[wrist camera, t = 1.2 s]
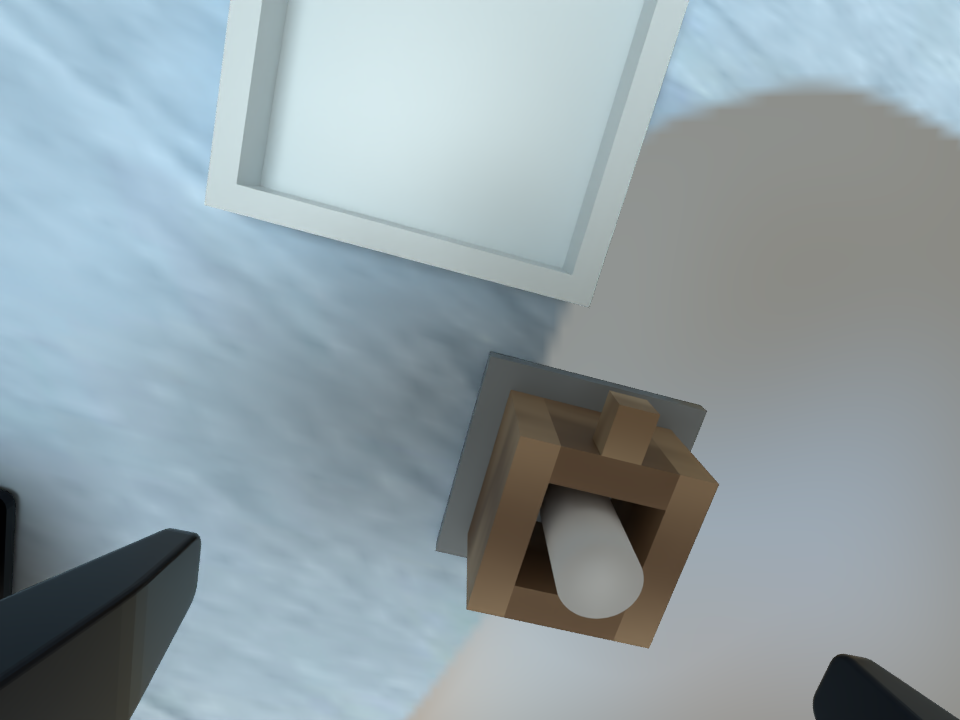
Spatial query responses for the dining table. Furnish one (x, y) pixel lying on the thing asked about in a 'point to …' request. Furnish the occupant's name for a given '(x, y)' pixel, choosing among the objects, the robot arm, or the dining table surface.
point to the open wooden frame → (595, 469)
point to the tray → (443, 127)
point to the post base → (547, 389)
